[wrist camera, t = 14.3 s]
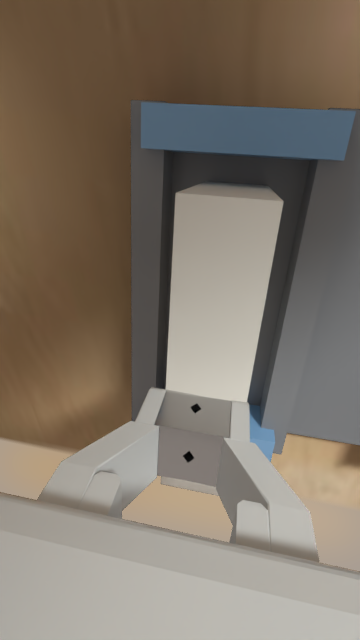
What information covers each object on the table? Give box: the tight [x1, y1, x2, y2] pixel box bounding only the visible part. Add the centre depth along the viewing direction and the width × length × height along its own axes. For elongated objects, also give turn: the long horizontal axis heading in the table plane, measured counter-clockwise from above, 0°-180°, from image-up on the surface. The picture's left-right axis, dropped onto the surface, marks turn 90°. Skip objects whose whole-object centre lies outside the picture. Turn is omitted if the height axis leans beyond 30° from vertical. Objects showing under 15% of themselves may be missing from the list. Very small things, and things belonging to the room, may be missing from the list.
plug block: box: [161, 181, 284, 496], centre depth 15 cm, size 12×3×8 cm, turn 176°
